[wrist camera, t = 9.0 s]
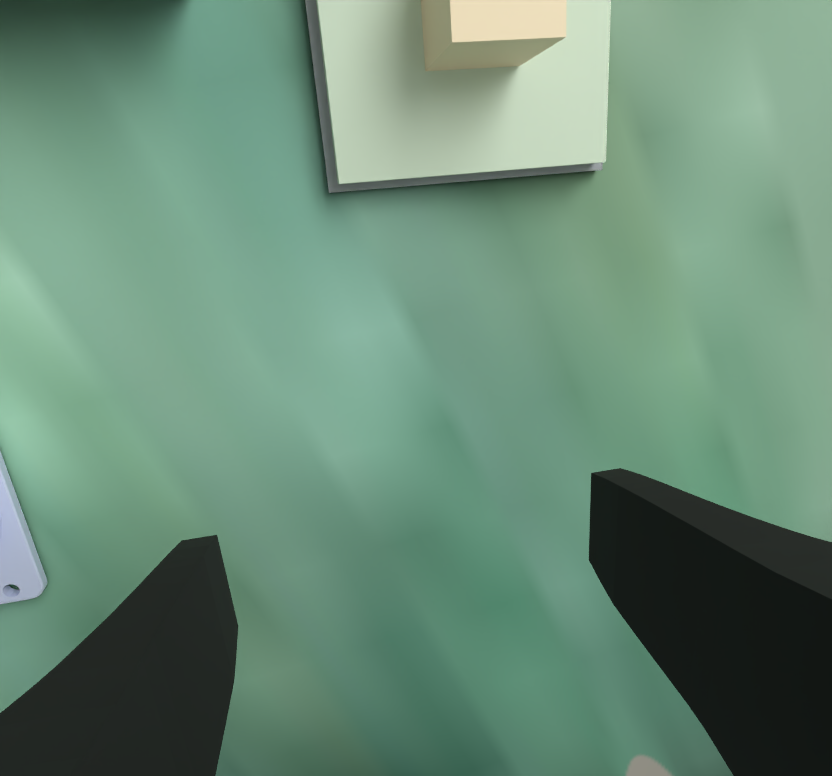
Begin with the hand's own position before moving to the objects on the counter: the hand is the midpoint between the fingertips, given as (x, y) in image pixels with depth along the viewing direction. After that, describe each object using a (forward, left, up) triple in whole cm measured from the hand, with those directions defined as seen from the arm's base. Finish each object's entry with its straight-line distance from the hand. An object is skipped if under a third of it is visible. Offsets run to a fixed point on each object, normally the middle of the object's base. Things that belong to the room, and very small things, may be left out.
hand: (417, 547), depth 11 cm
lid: (+4, +11, -10) cm, 15 cm away
